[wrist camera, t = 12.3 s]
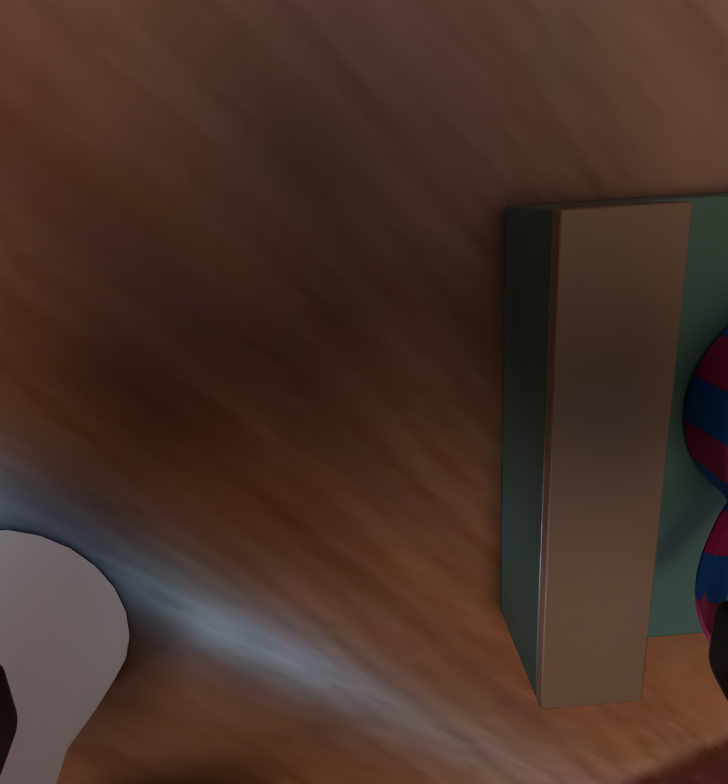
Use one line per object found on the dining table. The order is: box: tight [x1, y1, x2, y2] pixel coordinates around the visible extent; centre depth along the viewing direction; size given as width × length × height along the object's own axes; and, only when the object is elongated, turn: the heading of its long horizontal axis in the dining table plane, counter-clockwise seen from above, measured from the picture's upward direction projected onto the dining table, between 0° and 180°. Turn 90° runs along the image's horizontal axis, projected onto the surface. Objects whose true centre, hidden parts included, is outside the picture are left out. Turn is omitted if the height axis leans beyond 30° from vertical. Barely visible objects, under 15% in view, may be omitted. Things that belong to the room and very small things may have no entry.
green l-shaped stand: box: [501, 192, 728, 709], centre depth 18 cm, size 14×12×4 cm
